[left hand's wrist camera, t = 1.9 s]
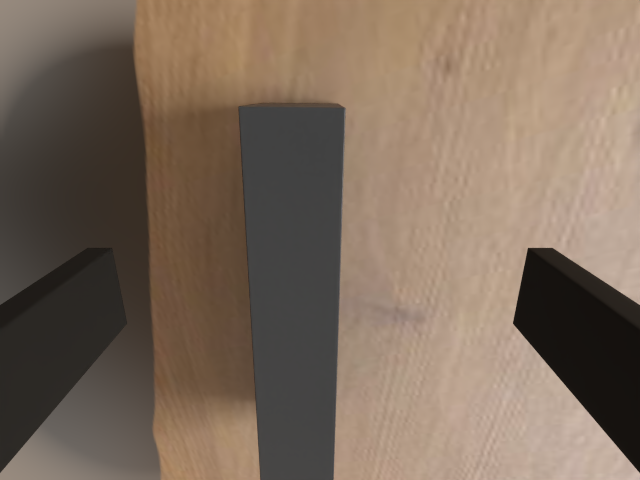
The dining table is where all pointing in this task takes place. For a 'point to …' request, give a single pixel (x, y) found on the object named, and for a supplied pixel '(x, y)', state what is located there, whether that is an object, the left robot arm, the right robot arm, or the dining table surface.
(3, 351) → the left robot arm
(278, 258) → the bar
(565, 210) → the dining table surface
